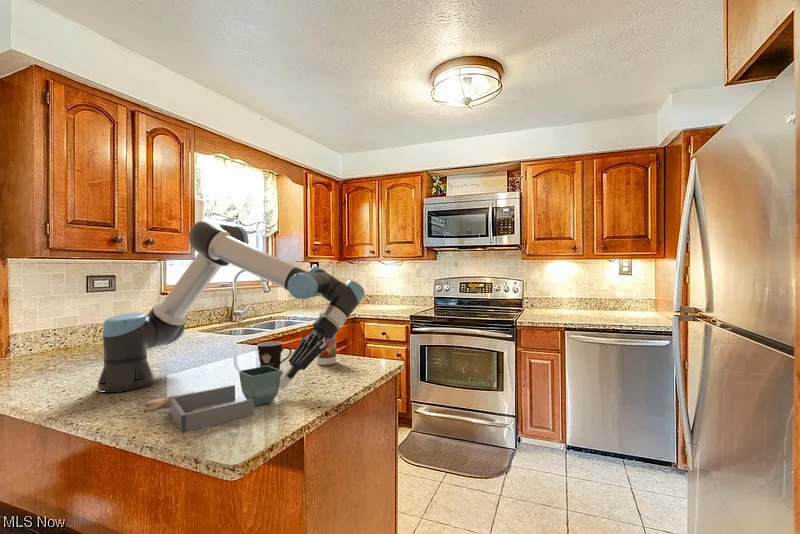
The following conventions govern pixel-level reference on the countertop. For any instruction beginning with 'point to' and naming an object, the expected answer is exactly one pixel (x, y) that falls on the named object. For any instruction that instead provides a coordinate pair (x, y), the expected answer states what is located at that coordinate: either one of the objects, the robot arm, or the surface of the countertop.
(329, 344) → the milk bottle
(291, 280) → the robot arm
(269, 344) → the coffee mug
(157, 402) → the scraper
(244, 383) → the flower pot
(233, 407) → the box
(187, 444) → the countertop surface
